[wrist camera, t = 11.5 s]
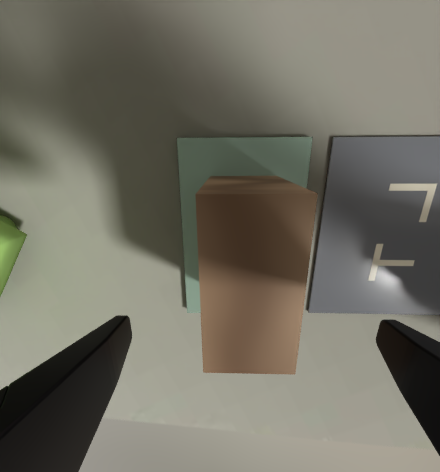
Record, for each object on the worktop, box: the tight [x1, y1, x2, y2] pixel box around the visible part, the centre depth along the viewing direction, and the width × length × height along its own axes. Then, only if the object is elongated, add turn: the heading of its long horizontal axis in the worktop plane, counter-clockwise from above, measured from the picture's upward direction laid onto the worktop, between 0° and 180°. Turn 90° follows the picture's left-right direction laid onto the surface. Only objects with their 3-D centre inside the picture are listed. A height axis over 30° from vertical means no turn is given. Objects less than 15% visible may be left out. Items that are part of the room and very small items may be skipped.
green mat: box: [177, 137, 313, 313], centre depth 18 cm, size 9×14×1 cm, turn 0°
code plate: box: [308, 136, 440, 315], centre depth 18 cm, size 12×14×1 cm
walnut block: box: [195, 176, 318, 374], centre depth 14 cm, size 5×9×8 cm, turn 1°
